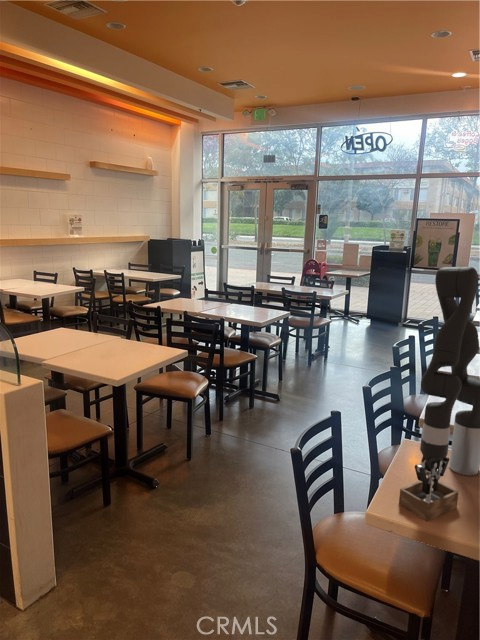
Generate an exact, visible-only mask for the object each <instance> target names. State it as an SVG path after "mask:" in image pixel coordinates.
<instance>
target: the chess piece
mask: <svg viewBox="0 0 480 640" xmlns="http://www.w3.org/2000/svg"><path fill="white" fill-rule="evenodd" d="M432 479H434V477H432ZM432 479H431V487H430V494H428V495H426V497H425V498H422V499H421V500H423V501H425V502H426V503H428V504H429V503H431V502H433V501H432V500H431V491H433V488H432V486H433V484H434V482H433V481H432Z"/></svg>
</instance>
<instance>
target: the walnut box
mask: <svg viewBox="0 0 480 640" xmlns="http://www.w3.org/2000/svg"><path fill="white" fill-rule="evenodd" d="M427 479H428V477H427ZM422 484H423V482H422V481H419V480H418V481H416V482H414V483H412V484H409V485H405V486H404V487H402V488H400V489H399V498H398V504H399V505H400V506H401V507H403V508H405V509H407V510H408V511H410V512H411V513H413V514H414V515H416V516H417V517H419V518H421V519H422V520H424V521H426V522H429V521H432V520H434V519H436V518H437V517H439V516H441V515H444V514H446V513H448V512H450V511H452V510H453V509H456V508H457V507H458V499H459V491H458V490H456V489H453V488H452V487H450V486H448V485H447V484H444V483H442V482H440V481H439V480H438V485H437V491H435V492H434V491H431V500H432V501H433V502H431V503H429V504H428V503H426V502H425V501H423V500H422V499H425V498H426V495H427V494H425V493H423V492H422Z"/></svg>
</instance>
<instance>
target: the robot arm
mask: <svg viewBox="0 0 480 640" xmlns="http://www.w3.org/2000/svg"><path fill="white" fill-rule="evenodd" d="M478 286H479V273H478V271H477V269H476V268H474V267H472V266H446V267H445V266H444V267H440V268H439V269H437V272H436V274H435V289H436V294H437V298H438V301H439V305H440V308H441V312H442V317H443V322H444V323H443V325H442V326H441V327H440V329H439V330H438V331H437V333H436V336H435V341H434V347H433V352H432V357H431V360H430V362H429V365H428V367H427V368H426V370H425V372H424V374H423V375H422V378H421V381H420V388H421V391H422V392H423V393H424V394H425V395H427V396H432V397H437V398H441V399H445V400H444V401H434V402H433V401H432V402H428V403H427V404H426V405H425V408H424V416H423V417H424V419H423V425H422V430H421V438H420V447H419V450H420V453H421V454H422V458H421V463H420V464H417V463H416V464H415V465H414V470H415V474H416V478H417V480H418V481H422V482H423V484H422V492H423V493H425V494H427V495H428V494H430V487H431V479H432V477H434V479H432V481H433V482H434V484H433V486H432V488H433V491H434V492H435V491H437V485H438V481H439V480H440V479H441V477H444V475H445V473H446V470H447V467H449V468H450V469H451V470H452V471H453V472H455V473H457V474H459V475H462V476H469V477H470V476H476V475H478V474H479V470H480V378H477V377H473V376H470V375H469V374H468V366H469V365H470V363H471V362H472V361H473V359H474V358H475V357H476V356H477V354H478V353H479V350H480V341H479V340H480V339H479V333H478V328H477V327H476V325H475V324H474V323H473V321H472V320H471V319H470V315H471V312H472V308H473V305H474V302H475V298H476V295H477V292H478V288H479V287H478ZM456 298H457V299H459V302H458V303H457V301H456ZM446 367H450V368H451V374H450V373H445V372H439V370H440V369H441V368H446ZM456 401H458V402H460V403H463V404H466V405H470V406H472V409H471V410H460V411H457V412H456V413H455V416H454V422H453V432H452V439H451V440H452V441H451V448H450V449H451V450H450V455H449V456H450V458H449V457H448V451H449V446H450V445H449V443H450V435H451V431H450V428H451V419H452V413H453V412H452V411H453V409H454V405H455V403H456ZM448 465H449V466H448ZM427 478H428V479H427Z"/></svg>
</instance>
